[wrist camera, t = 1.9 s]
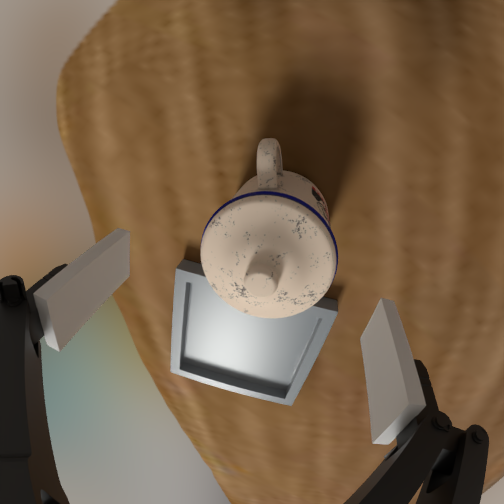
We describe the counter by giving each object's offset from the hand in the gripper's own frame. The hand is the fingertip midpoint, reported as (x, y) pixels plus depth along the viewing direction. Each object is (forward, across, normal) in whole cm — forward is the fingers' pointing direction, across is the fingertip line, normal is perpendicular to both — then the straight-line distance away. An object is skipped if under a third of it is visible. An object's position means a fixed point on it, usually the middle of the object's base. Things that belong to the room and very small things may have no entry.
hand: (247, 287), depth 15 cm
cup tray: (+14, 0, -16) cm, 21 cm away
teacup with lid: (+14, 0, 0) cm, 14 cm away
